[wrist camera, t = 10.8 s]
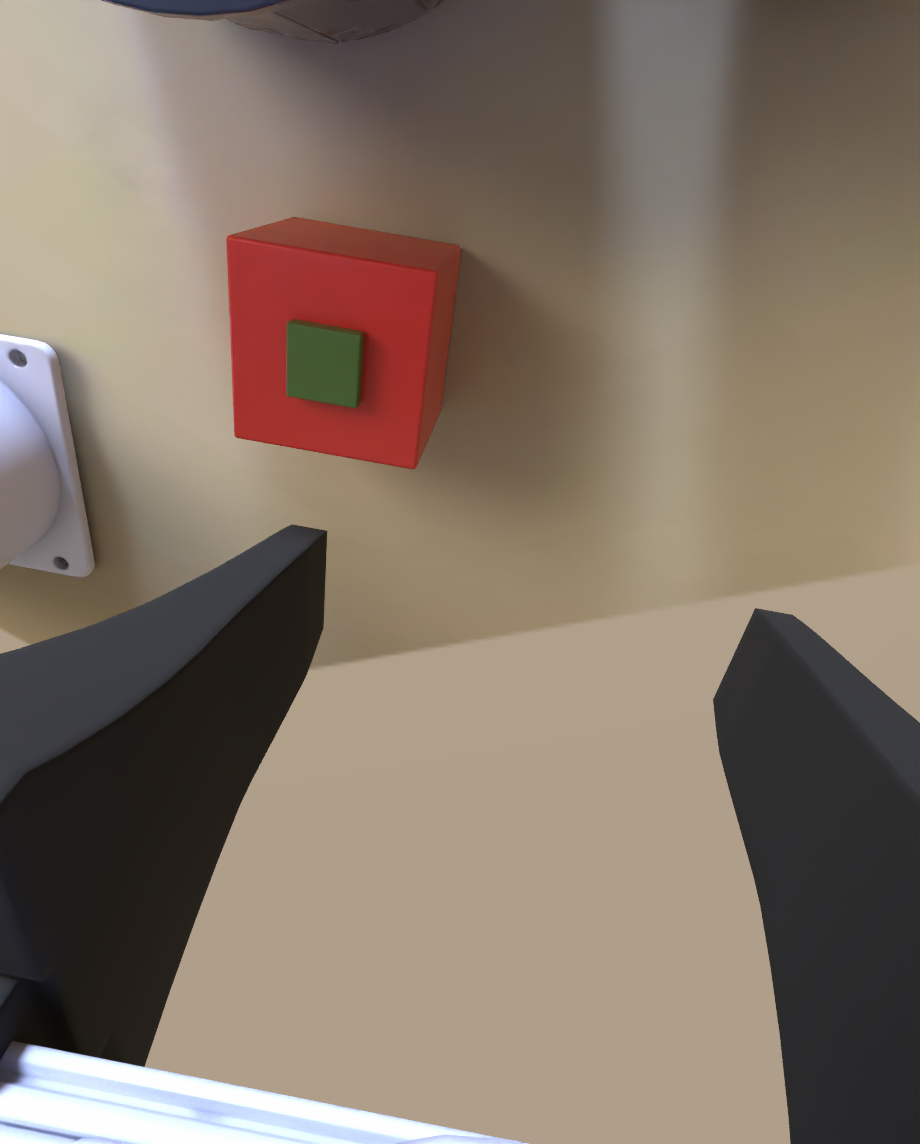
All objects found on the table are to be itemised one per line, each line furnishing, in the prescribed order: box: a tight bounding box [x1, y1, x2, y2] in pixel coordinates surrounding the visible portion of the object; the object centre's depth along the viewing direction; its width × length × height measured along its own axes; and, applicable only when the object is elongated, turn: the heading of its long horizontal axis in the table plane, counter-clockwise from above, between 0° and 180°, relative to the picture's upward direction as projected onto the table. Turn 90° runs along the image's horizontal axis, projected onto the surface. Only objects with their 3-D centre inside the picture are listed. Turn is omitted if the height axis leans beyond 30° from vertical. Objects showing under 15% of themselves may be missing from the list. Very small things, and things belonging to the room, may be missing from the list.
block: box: [227, 217, 461, 469], centre depth 17 cm, size 4×4×5 cm
